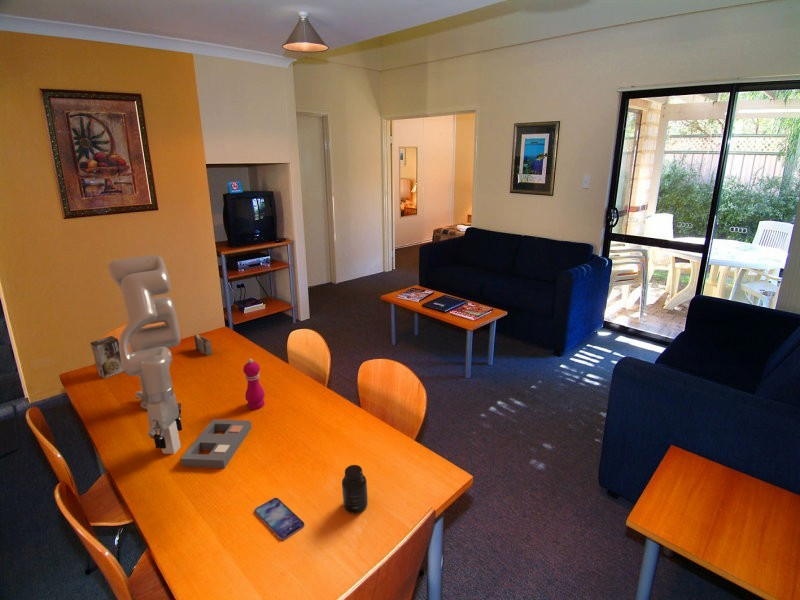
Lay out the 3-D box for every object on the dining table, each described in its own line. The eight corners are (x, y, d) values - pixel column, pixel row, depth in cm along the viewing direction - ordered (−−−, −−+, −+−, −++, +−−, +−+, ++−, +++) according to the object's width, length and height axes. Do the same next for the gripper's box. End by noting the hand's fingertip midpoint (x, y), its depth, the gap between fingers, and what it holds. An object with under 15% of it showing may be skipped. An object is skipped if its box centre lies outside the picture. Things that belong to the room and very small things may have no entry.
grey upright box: (195, 350, 231) (192, 332, 228) (201, 348, 233) (198, 331, 230) (206, 357, 224) (203, 338, 221) (212, 355, 226) (209, 336, 223)
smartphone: (276, 496, 133) (306, 524, 123) (276, 499, 133) (306, 527, 123) (252, 509, 128) (282, 539, 118) (253, 512, 128) (282, 542, 118)
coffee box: (119, 367, 214) (111, 335, 209) (126, 371, 210) (118, 338, 205) (98, 375, 207) (89, 342, 202) (104, 379, 203) (96, 345, 198)
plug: (162, 453, 153) (156, 422, 149) (169, 446, 157) (163, 415, 153) (174, 453, 153) (168, 422, 149) (180, 446, 156) (174, 415, 153)
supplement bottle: (343, 497, 133) (341, 462, 129) (367, 495, 133) (366, 461, 129) (343, 515, 126) (340, 479, 122) (368, 513, 127) (366, 477, 123)
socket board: (182, 466, 147) (180, 457, 145) (214, 426, 167) (212, 418, 166) (224, 468, 145) (223, 459, 144) (251, 427, 166) (250, 419, 165)
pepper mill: (268, 400, 184) (263, 355, 177) (261, 410, 177) (255, 363, 171) (251, 400, 184) (245, 354, 178) (243, 409, 178) (237, 363, 171)
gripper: (164, 380, 156) (173, 423, 162) (132, 407, 140) (143, 455, 145) (185, 380, 156) (193, 424, 161) (155, 408, 139) (165, 455, 145)
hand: (169, 438), depth 153 cm, fingers open, 9 cm apart
